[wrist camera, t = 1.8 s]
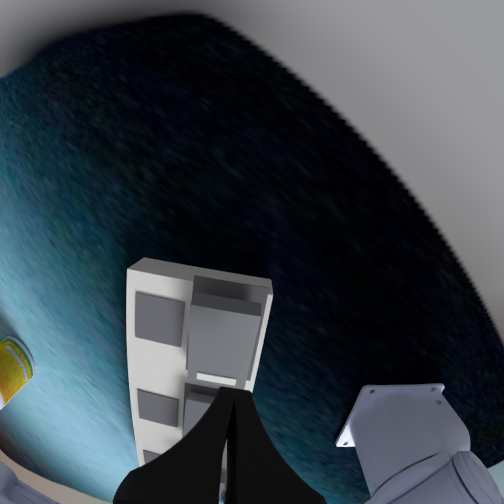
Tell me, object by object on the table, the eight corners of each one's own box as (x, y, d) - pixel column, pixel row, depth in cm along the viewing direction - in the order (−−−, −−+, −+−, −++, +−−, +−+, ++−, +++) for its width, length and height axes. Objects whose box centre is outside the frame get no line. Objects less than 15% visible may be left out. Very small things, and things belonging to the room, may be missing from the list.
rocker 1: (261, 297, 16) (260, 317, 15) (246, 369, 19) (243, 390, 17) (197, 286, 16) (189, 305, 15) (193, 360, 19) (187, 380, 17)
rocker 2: (240, 396, 19) (240, 409, 17) (229, 455, 19) (228, 469, 18) (190, 387, 19) (185, 399, 17) (184, 447, 19) (180, 461, 17)
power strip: (272, 273, 20) (274, 290, 17) (229, 470, 25) (227, 493, 22) (144, 252, 20) (125, 263, 17) (148, 454, 25) (140, 475, 22)
